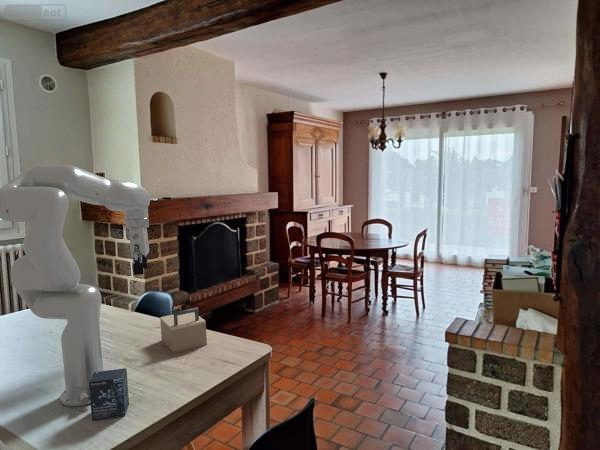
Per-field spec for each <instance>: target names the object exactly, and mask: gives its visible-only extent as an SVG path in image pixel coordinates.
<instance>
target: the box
mask: <svg viewBox="0 0 600 450" xmlns="http://www.w3.org/2000/svg"><path fill="white" fill-rule="evenodd" d="M89 389H90V401H91V403H90V411H91V421H97V420H106V419H111V418H112V419H113V418H121V417H122V418H123V417H125V416H126V414H127V412H128V408H129V406H130V399H129V384H128V371H127V368H126V367H125V368H117V369H109V370H108V369H107V370H103V371H97V372H94V374H93V376H92V377H91V379H90V381H89Z"/></svg>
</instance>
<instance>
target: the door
mask: <svg viewBox="0 0 600 450" xmlns="http://www.w3.org/2000/svg"><path fill="white" fill-rule="evenodd" d="M199 312H200V311H199V307H198V306H197V307H193V308H187V309H182V310H179V311H173V313H172V314H169V315H164V316H161V317H160V316H159V317H160V318H159V320H161V321H162V322H163V323H164V324H165V325H166V326H167V327H169V328H170V329H171V330H172V331H174V330H179V329H183V328H187V327H191V326H195V325H200V324H204V323H207V321H206V320H205V319H204V318H202V317H201V316H200V314H199Z"/></svg>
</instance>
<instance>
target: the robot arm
mask: <svg viewBox="0 0 600 450" xmlns="http://www.w3.org/2000/svg"><path fill="white" fill-rule="evenodd" d="M69 199H72V200H76V201H78V202H83V203H86V204H90V205H95V206H96V205H97V206H104V207H105V208H106V209H108V210H109V211H113V212H124V218H125V219H124V220H125V229H127V230H128V231H129V247H130V255H131V257H132V271H133V276H139V275H140V276H141V275H144V273H145V272H144V269H147V268H148V257H147V256H148V254H149V252H150V244H149V236H148V229H147V228H149V227H150V223H149V222H150V219H149V206H150V204H151V203H150V202H151V196H150V194H149V192H148V191H147V189H146V188H145V187H143V186H141V185H138V184H135V183H133V182H129V181H125V180H119V179H115V178H110V177H106V176H105V177H104V176H101V175H97V174H95V173H92V172H90V171H87V170H85V169H82V168H80V167H77V166H75V165H71V164H41V165H35V166H33V167H31V168H29V169H27V170H25V171H23V172H22V173H20V174H19V175H18V176H16V177H15V178H13V179H12V180H11V181H9V182H7V183H6V184H4V185H3V186H2V187H0V219H1V220H3V221H5V222H10V223H24V222H25V223H30V224H29V226H28V230H27V231H26V234H25V235H24V237H23V242H22V248H23V252H24V254H25V255H22V256H20V257H17V259H16V260H15V261H14V262H13V264H12V266H11V268H10V282H11V284H12V286H13V288H14V290H15V292H16V293H17V294H18V295H19V297H20V298H21V299H22V301H23V302H24V303H25V305H26V306H27V307H28V309H29V310H30V311H31V312H32V314H34V315H35V316H36V317H39V318H40V319H45V320H46V319H48V320H64V321H65V320H66V321H67V324H66V325H65V327H64V328H63V330H62V332H61V337H60V342H61V343H60V345H61V351H62V352H61V353H62V362H63V364H62V365H63V372H64V381H65V389H64V390H63V391H62V392H61V394H60V396H59V398H60V399H59V400H60V402H61V403H60V404H62V405H64V406H67V407H80V406H86V405H89V404H90V405H91V401H90V389H89V381H90V379H91V377H92V376H93V374H94V372H97V371H104V361H103V350H102V348H103V347H102V338H101V325H100V324H101V322H100V321H101V320H100V318H101V308H102V294H101V292H100V290H99V289H98V287H96V286H94V285H91V284H86V283H80V280H81V277H82V275H81V274H82V273H81V270H80V268H79V265H78V263H77V262H76V260H75V258H74V256H73V254H72V253H71V251H70V249H69V247H68V246H67V244H66V242H65V240H64V237H63V232H64V230H63V229H64V225H65V221H66V217H67V215H68V212H69V207H70V204H69V201H70V200H69Z"/></svg>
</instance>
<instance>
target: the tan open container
mask: <svg viewBox="0 0 600 450" xmlns="http://www.w3.org/2000/svg"><path fill="white" fill-rule="evenodd" d="M159 320H160V319H159ZM159 323H160V332H161V333H160V335H161V342H162V343H163V344H165V346H166V347H167V348H168V349H169V351H171V353H172V354H173V355H174V354H179V353H181V352H184V351H189V350H192V349H197V348H199V347H204V346H206V345H208V342H207V340H208V339H207V324H206V323H207V322H206V323H204V324H200V325H195V326H191V327H187V328H183V329H179V330H174V331H172V330H171V329H170V328H169V327H167V326H166V325H165V324H164V323H163V322H162V321H161V320H160V321H159Z"/></svg>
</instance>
